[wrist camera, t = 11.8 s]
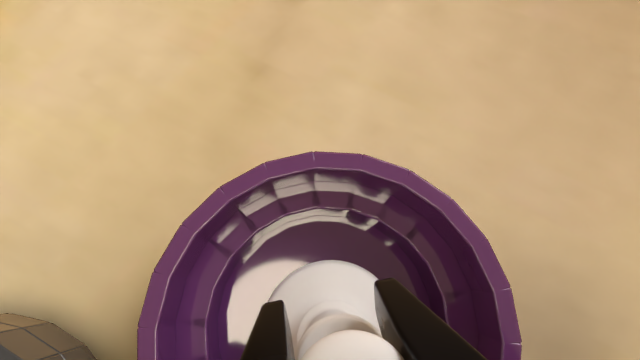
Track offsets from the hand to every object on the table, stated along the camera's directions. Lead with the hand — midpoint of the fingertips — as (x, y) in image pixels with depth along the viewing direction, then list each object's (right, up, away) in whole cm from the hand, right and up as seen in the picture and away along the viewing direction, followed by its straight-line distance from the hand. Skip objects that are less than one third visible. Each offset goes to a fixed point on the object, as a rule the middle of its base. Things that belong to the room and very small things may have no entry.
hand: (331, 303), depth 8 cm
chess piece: (0, -3, +6) cm, 7 cm away
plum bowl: (0, -3, +7) cm, 8 cm away
